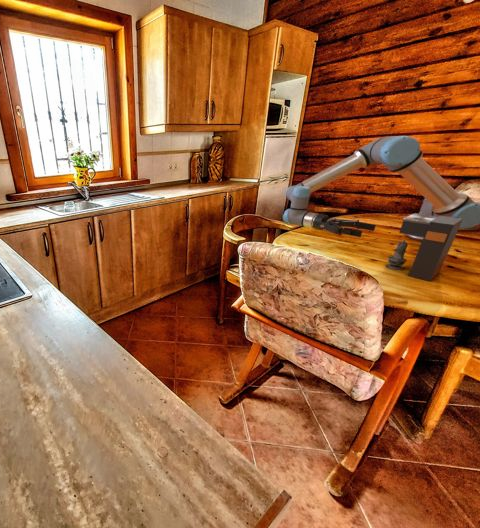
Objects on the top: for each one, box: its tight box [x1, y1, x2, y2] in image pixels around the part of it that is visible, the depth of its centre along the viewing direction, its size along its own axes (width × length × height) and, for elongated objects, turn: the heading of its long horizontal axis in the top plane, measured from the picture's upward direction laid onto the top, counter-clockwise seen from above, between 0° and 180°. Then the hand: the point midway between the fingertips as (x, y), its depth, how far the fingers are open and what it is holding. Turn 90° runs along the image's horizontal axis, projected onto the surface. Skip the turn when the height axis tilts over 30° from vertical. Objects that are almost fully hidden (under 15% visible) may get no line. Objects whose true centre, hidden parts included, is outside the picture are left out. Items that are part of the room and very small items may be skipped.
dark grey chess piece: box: [385, 239, 409, 271], centre depth 114 cm, size 6×6×12 cm
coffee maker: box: [398, 212, 463, 282], centre depth 107 cm, size 13×13×22 cm
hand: (368, 230), depth 120 cm, fingers open, 13 cm apart
